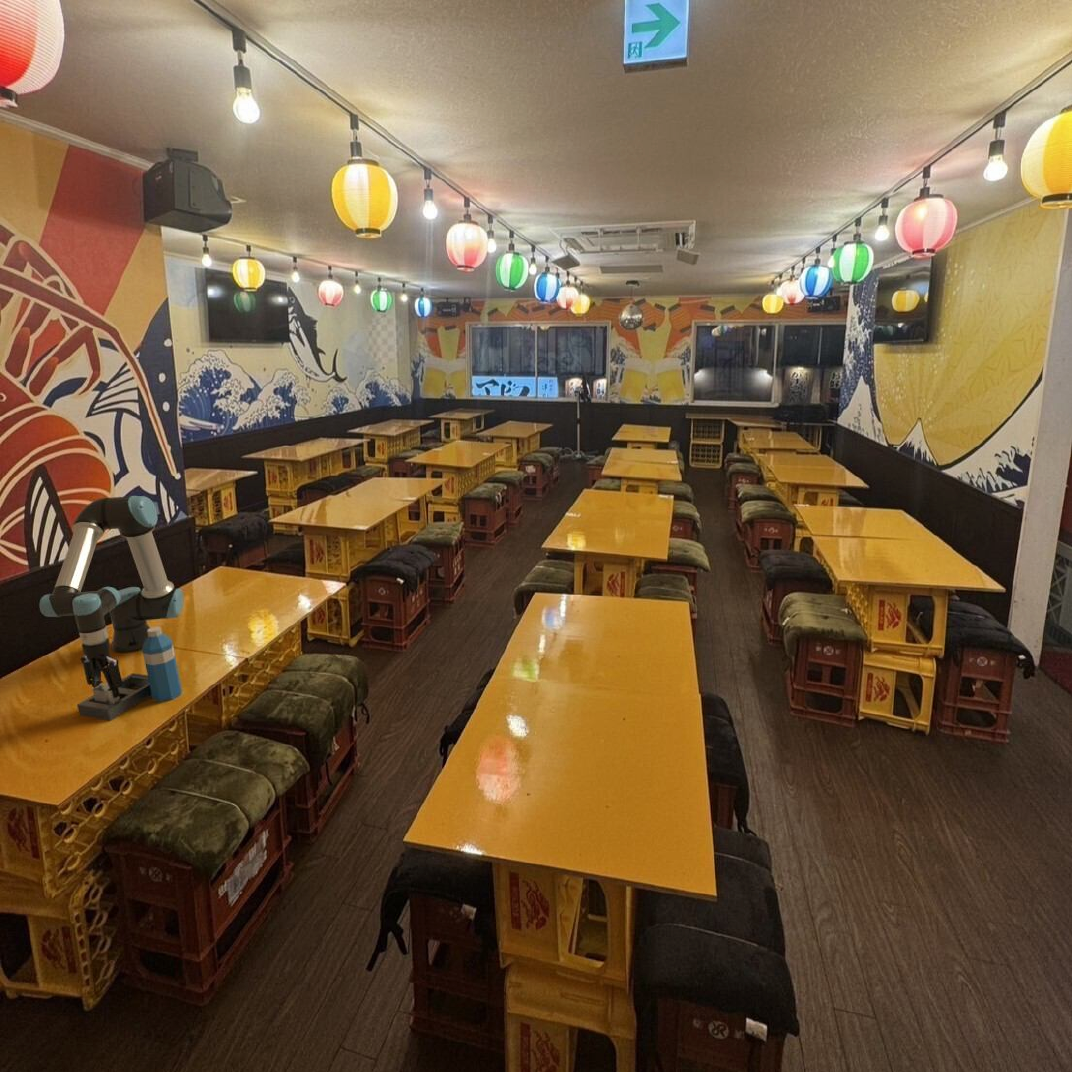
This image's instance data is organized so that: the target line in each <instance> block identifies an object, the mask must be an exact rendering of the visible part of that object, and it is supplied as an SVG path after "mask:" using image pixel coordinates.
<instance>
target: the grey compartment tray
mask: <svg viewBox="0 0 1072 1072" xmlns="http://www.w3.org/2000/svg"><path fill="white" fill-rule="evenodd" d="M121 679H122V683H123V685H122V686H120V687H118V689H119V694H120V699H121V700H119V701H117V702H116V703H114V704H112V705H107V704H101V703H95V698H94V694H93V695H92V696H90V697H88V698H86V699H85V700H83V701H81V702H80V703H77V704H76V705H77V709H78V714H79V716H81V717H88V718H94V719H99V720H104V721H112V720H114V719H115V718H117V717H119V716H121V715H122V714H124V713H125V712H127V711H129V710H131V709H132V708H134V707H135V706H137V705H139V704H140V703H141V702H143V701H145V700H146V699H148V698H150V697H152V693H151V689H150V684H149V679H148V675H147V674H140V673H134V672H133V673H131V674H129V675H128V676H125V677H123V678H121ZM132 688H135V689H132Z"/></svg>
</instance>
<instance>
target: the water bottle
mask: <svg viewBox="0 0 1072 1072" xmlns="http://www.w3.org/2000/svg"><path fill="white" fill-rule="evenodd" d="M147 632H148V637H147V639H146V641H145V643H144V644H143V647H142V649H141V652H142V656H143V659H144V665H145V669H146V675H148V679H149V684H150V689H151V693H152V695H151V697H152V701H154V702H158V703H163V702H167V701H173V700H175V699H176V698H178V697H180V696H182V693H183V689H182V683H181V679H180V678H181V677H180V674H179V669H178V665H177V658H176V653H175V649H174V644H173V640H172V639H171V638H170V637H169V636H167V634H165V633H163V632H162V627H160V626H154V627H150V629H148V631H147Z"/></svg>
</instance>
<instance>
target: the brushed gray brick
mask: <svg viewBox="0 0 1072 1072" xmlns="http://www.w3.org/2000/svg"><path fill="white" fill-rule="evenodd" d="M101 684H102V685H101ZM101 684H100V686H98V687H97V688H95V689H94V688H93V689H92V693H93V695H94V698H95V703H101V704H107V705H111V700H110V696H109V692H108V689H110V688H109V685H108V683H107V682H103V683H101ZM118 690H119V689H118ZM119 698H120V694H119ZM120 700H121V699H120Z"/></svg>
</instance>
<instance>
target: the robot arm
mask: <svg viewBox="0 0 1072 1072" xmlns="http://www.w3.org/2000/svg"><path fill="white" fill-rule="evenodd" d="M158 518H159V517H158V511H157V508H156V505H155V503H154V502H153V501H152V499H150V498H149V497H147V496H145V495H144V496H142V495H141V496H140V495H139V496H138V495H131V496H119V497H117V496H115V497H114V496H113V497H101V498H98V499H95V500H93V501H92V502H90V503H88V504H87V505H86V506H85V507H84V508H82V510H81V511H80V512H79V513H78V515H77V516H76V518H75V519H74V522H73V524H72V526H71V527H72V528H71V530H72V532H73V533H72V538H71V540H70V543H69V545H68V549H67V552H66V554H65V558H64V560H63V563H62V566H61V569H60V571H59V574H58V577H57V580H56V582H55V585H54V589H53V591H52V593H48V594H44V595H43V596H42V597H41V598H40V600H39V611H40V613H41V614H42V615H43V616H45V617H49V618H50V617H51V618H52V617H53V618H60V617H68V616H74V618H75V622H76V625H77V630H78V634H79V639H80V642H81V648H82V652H83V655H84V656H82V657H80V661H81V663H82V665H83V669H84V674H85V680H86V683H87V685H91V686H92V688H93V689H95V688H97V687H98V686H100V685H102V684H104V681H102V673H103V677H104V678H105V680H106V683H108V685H109V688H110V689H108V692H109V696H110V700H111V705H112V704H114V703H116V702H117V701H119V700H120V698H119V690H118V687H120V686H122V685H123V683H122V679H123V678H122V676H121V675H122V674H121V672H120V667H119V659H118V658H115V659H114V658H112V656H111V654H110V650H111V646H112V651H114V652H116V653H131V652H136V651H140V650H142V647H143V644H144V643H145V641H146V639H147V637H148V632H147V631H148V629H150V628H151V627H150V626H149V624H148V622H147V621H151V620H152V621H154V620H165V619H166V620H169V619H175V618H178V617H179V616H180V615H181V613H182V611H183V607H184V601H185V600H184V599H185V598H184V593H183V590H182V589H180V588H175V585H174V583H173V582H172V581H170V580H168V578H167V577H168V576H167V574H166V571H165V568H164V565H163V562H162V559H161V555H160V553H159V550H158V547H157V543H156V540H155V537H154V535H153V531H154V530H155V528H156V527H155V526H156V525H157V523H158ZM106 530H118V532H119V534H120V536H121V537H122V538H125V539H126V541H127V544H128V546H129V549H130V552H131V554H132V558H133V560H134V563H135V565H136V566H135V567H136V569H137V571H138V575H139V577H140V580H141V582H142V586H143V588H142V589H141V588H140V587H137V586H130V587H125V588H124V589H120V590H117V589H116V588H115V587H111V586H105V587H102V588H99V590H96V591H95V590H94V591H93V590H92V591H82V589H83V586H84V584H85V580H86V576H87V573H88V570H89V568H90V564H91V562H92V558H93V555H94V553H95V549H96V546H97V543H98V540H99V539H100V538H102V537H103V535H104V532H105V531H106ZM81 591H82V592H81ZM107 614H110V618H111V619H110V621H111V624H112V627H113V636H112V642H110V639H109V633H108V630H107V629H108V628H107V626H106V621H105V616H106V615H107ZM110 643H111V644H110Z"/></svg>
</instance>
